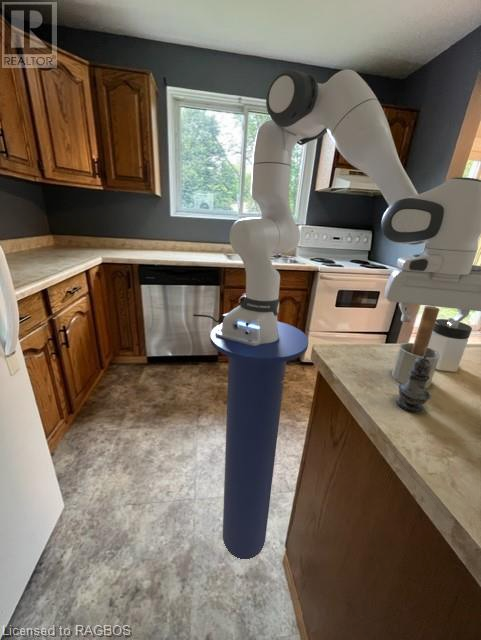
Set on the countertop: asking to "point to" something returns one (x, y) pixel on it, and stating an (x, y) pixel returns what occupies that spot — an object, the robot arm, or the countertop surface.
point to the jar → (449, 344)
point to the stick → (425, 330)
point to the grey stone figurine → (415, 387)
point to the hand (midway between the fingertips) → (427, 324)
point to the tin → (412, 363)
